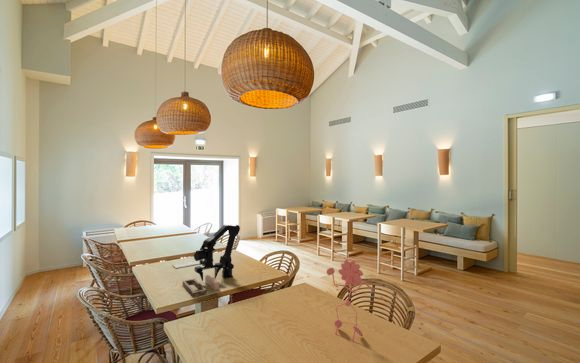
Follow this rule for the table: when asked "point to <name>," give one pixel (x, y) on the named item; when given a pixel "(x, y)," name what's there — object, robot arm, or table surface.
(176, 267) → the baseboard molding
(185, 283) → the frame
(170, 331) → the table surface
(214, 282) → the clay strip
